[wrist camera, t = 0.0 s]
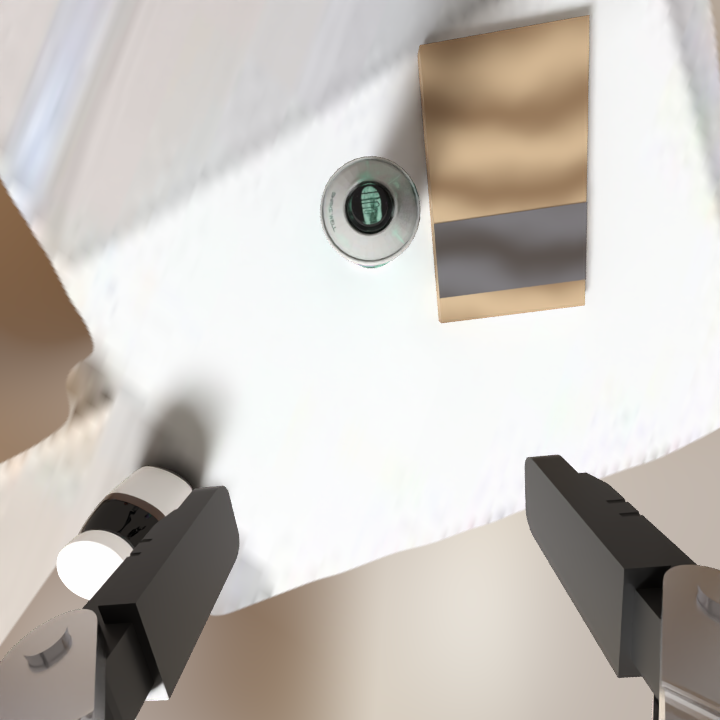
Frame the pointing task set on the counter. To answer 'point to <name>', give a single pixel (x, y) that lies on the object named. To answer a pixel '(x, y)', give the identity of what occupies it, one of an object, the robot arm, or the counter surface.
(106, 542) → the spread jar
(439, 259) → the plywood panel
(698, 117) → the counter surface
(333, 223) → the spray can
